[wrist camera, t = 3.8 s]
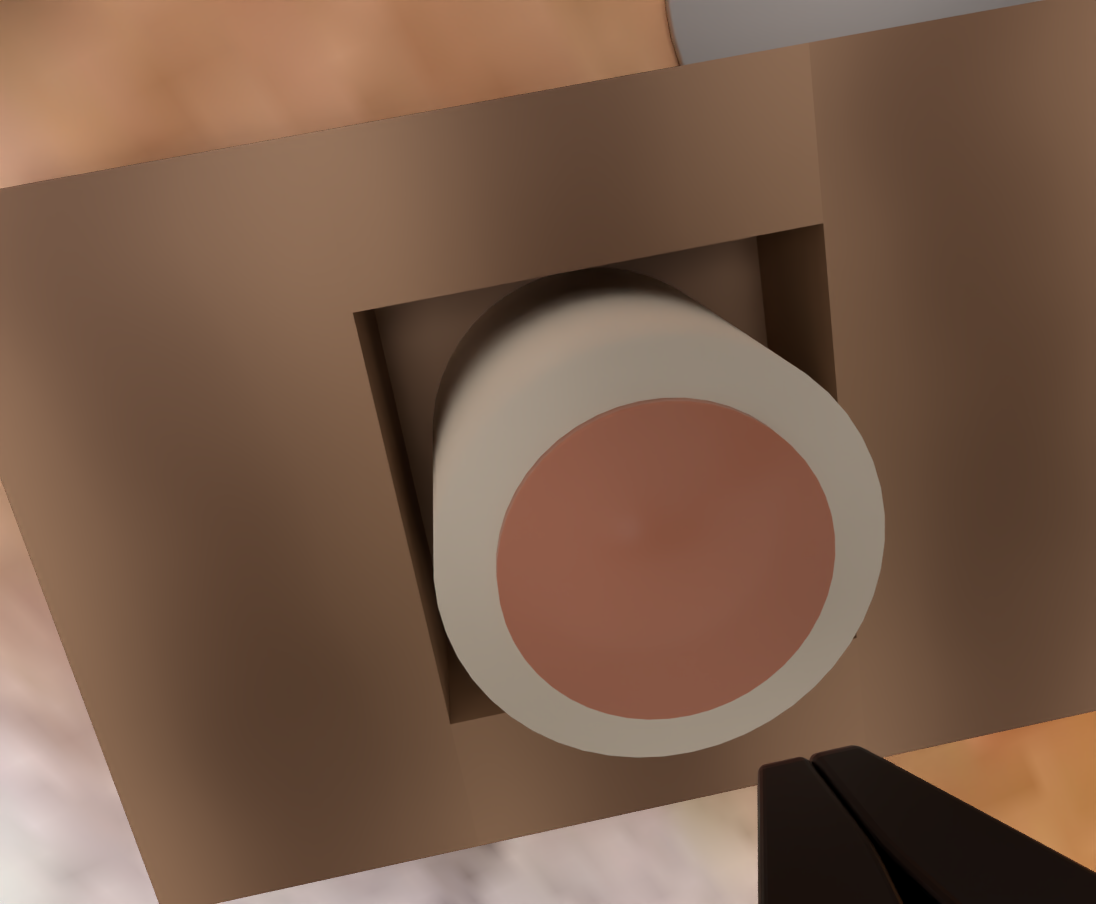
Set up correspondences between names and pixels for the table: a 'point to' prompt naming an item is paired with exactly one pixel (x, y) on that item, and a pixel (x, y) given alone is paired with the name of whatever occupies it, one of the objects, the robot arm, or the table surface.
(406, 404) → the brown wooden block
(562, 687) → the cream short cylinder
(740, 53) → the mat
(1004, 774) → the table surface
